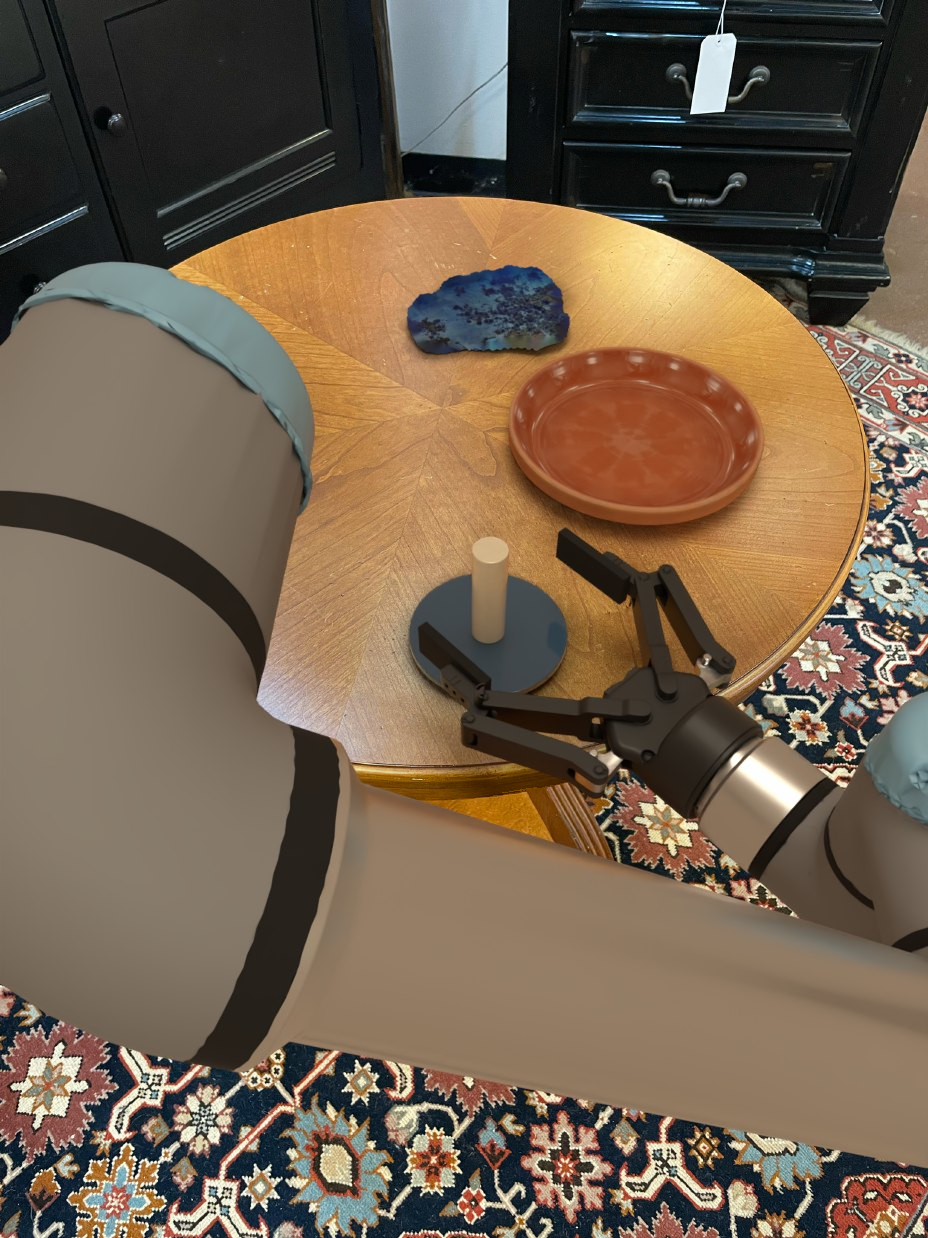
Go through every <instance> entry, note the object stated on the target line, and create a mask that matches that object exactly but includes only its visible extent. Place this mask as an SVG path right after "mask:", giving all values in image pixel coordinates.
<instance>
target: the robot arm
mask: <svg viewBox="0 0 928 1238" xmlns="http://www.w3.org/2000/svg"><path fill="white" fill-rule="evenodd" d="M225 296H226V295H224V294H223V293H220V292H219V291H217V290H216V289H214V288H212V287H210V286H208V285H202V284H201V285H199V284H196V283H193V282H191V281H188V280H185V279H182V278H179V277H177V276H176V274H174V272H173V271H171V270H169V269H165V268H162V267H158V266H153V265H148V264H143V263H137V262H127V261H125V262H123V261H107V262H96V263H89V264H85V265H81V266H78V267H75V268H72V269H69V270H67V271H65V272H63V273H61V274H59V275H57V276H56V277H54V278H52V279H51V280H50V281H49V282H48V283H46V284H45V285H44V286H43V287H42V288H41V289H40V290H39V291H38V292H37V293H35V294H32V295H31V296H29V297H28V298H27V299H26V300H25V302H24V303H23V304H20V306H19V307H18V311H17V313H16V312H15V314H14V316H13V319H12V322H11V329H10V334H9V336H8V337H7V338H6V340H4V342H3V343H2V344H1V345H0V985H1V986H2V987H5V988H6V989H7V990H9V991H11V992H12V993H14V994H15V995H17V996H18V997H20V998H21V999H23V1000H24V1001H26V1002H28V1004H31V1005H32V1006H34V1007H35V1008H37V1009H38V1010H40V1011H42V1012H43V1013H45V1014H46V1015H47V1016H49V1017H51V1018H53V1019H56V1020H58V1021H60V1022H62V1023H65V1024H67V1025H69V1026H71V1027H73V1028H75V1029H78V1030H80V1031H83V1032H84V1033H86V1034H89V1035H91V1036H93V1037H96V1038H97V1039H100V1040H103V1041H104V1042H108V1043H110V1044H114V1045H116V1046H119V1047H123V1048H125V1049H127V1050H128V1049H129V1050H132V1051H134V1052H138V1053H140V1054H145V1055H149V1056H153V1057H158V1058H163V1059H167V1060H171V1061H177V1062H180V1063H186V1064H191V1065H197V1066H200V1067H201V1066H202V1067H207V1068H212V1069H218V1070H223V1071H228V1072H233V1073H238V1074H239V1073H246V1072H248V1071H249V1072H250V1070H252V1069H254V1068H255V1067H257V1066H258V1065H260V1064H261V1063H262V1062H264V1061H265V1060H266V1059H268V1058H269V1057H270V1056H272V1055H273V1054H275V1053H276V1052H277V1051H279V1050H280V1049H281V1048H283V1047H284V1046H285V1045H287V1044H288V1043H294V1044H295V1043H296V1044H299V1045H305V1046H310V1047H316V1048H320V1049H325V1050H330V1051H335V1052H340V1053H345V1054H351V1055H354V1056H355V1055H356V1056H360V1057H364V1058H365V1057H366V1058H370V1059H376V1060H380V1061H386V1062H391V1063H396V1064H401V1065H406V1066H410V1067H416V1068H420V1069H421V1068H422V1069H426V1070H431V1071H436V1072H440V1073H446V1074H451V1075H456V1076H461V1077H466V1078H471V1079H476V1080H481V1081H485V1082H486V1081H487V1082H492V1083H496V1084H502V1085H506V1086H511V1087H516V1088H522V1089H527V1090H531V1091H536V1092H542V1093H547V1094H551V1095H556V1096H562V1097H567V1098H572V1099H576V1100H582V1101H587V1102H592V1103H596V1104H602V1105H605V1106H606V1105H607V1106H611V1107H612V1106H613V1107H617V1108H623V1109H626V1110H632V1111H638V1112H642V1113H647V1114H652V1115H656V1116H657V1115H658V1116H663V1117H668V1118H672V1119H677V1120H682V1121H687V1122H692V1123H698V1124H701V1125H708V1126H713V1127H717V1128H721V1129H722V1128H723V1129H728V1130H733V1131H739V1132H743V1133H748V1134H753V1135H758V1136H763V1137H769V1138H773V1139H777V1140H783V1141H789V1142H794V1143H797V1144H804V1145H808V1146H814V1147H818V1148H823V1149H828V1150H833V1151H838V1152H839V1151H840V1152H843V1153H849V1154H853V1155H858V1156H863V1157H867V1158H868V1157H869V1158H872V1159H873V1158H874V1159H879V1160H882V1161H883V1160H884V1161H889V1162H894V1163H898V1164H904V1165H908V1166H915V1167H919V1168H924V1169H928V690H927V691H924V692H921V693H919V694H916V695H914V696H912V697H911V698H909V699H907V701H905V702H903V704H902V705H901V706H900V707H898V708H897V710H896V711H895V713H894V714H893V715H892V717H891V718H889V720H888V722H887V723H886V724H885V725H884V727H883V728H882V730H881V731H880V732H879V733H878V734H876V735H874V736H872V739H871V740H870V741H868V743H867V745H866V748H865V750H864V752H863V756H862V758H861V760H860V762H859V763H858V765H857V767H856V768H855V771H854V772H853V774H852V776H851V778H850V780H849V781H848V783H847V785H846V787H845V789H844V788H843V787H842V786H841V785H840V784H838V783H837V782H836V781H835V780H833V779H832V778H831V777H830V776H829V775H827V774H826V773H825V772H823V771H822V770H821V769H820V768H818V767H817V766H816V765H815V764H813V763H812V762H811V761H809V760H808V759H806V757H804V756H803V755H802V754H800V753H799V752H797V750H795V749H794V748H793V747H791V746H790V744H788V743H786V742H785V741H784V740H782V739H781V738H780V737H779V736H771V737H765V732H764V730H763V726H762V725H761V724H760V722H758V721H757V720H755V719H754V718H752V716H750V715H749V714H747V713H746V712H745V711H743V709H741V708H740V707H739V706H737V705H736V704H734V703H733V702H732V701H730V700H729V699H728V698H726V697H725V696H723V695H715V694H713V692H712V691H713V690H715V689H717V690H725V689H727V688H728V687H729V685H730V682H731V679H732V676H733V674H734V671H735V668H736V665H737V659H736V657H735V656H734V655H732V654H731V653H730V652H729V651H728V650H727V649H726V648H724V646H723V645H721V643H719V642H718V641H717V640H716V639H715V637H714V635H713V634H712V632H711V630H710V628H709V626H708V625H707V623H706V621H705V619H704V618H703V615H702V614H701V613H700V610H699V609H698V607H697V605H696V604H695V601H694V600H693V598H692V597H691V594H690V593H689V590H687V588H686V586H685V584H684V582H683V581H682V579H681V577H680V575H679V574H678V572H677V570H676V569H675V567H674V566H673V565H672V564H668V563H662V564H661V565H660V566H658V569H657V570H654V571H652V572H646V571H639V570H637V569H636V568H635V567H633V566H632V565H631V564H629V563H628V562H626V561H625V560H624V559H622V558H621V557H619V555H617V554H615V553H614V552H611V551H608V550H606V551H605V552H603V553H602V552H601V551H599V550H597V548H595V547H594V546H592V545H591V544H590V543H588V542H587V541H585V540H584V539H582V537H580V536H578V535H577V534H576V533H575V532H573V531H572V530H570V529H569V528H568V527H566V526H565V527H563V528H561V529H560V530H558V532H557V542H556V551H555V558H557V559H558V560H559V561H560V562H562V564H564V565H566V566H567V567H568V568H569V569H571V570H572V571H573V572H574V573H576V574H577V575H579V576H580V577H582V579H584V580H585V581H587V582H588V583H589V584H590V585H592V586H593V587H595V588H596V589H597V590H599V592H601V593H602V594H604V595H605V596H607V597H608V598H609V599H610V600H612V601H613V602H614V603H616V604H617V605H618V606H621V605H622V604H623V603H624V602H625V601H627V598H628V596H629V597H630V598H629V603H628V607H631V611H632V615H633V621H634V626H635V632H636V637H637V643H638V648H639V651H640V652H639V653H640V659H641V663H642V666H641V667H638V666H637V665H635V666H633V667H632V668H631V669H630V670H629V671H628V672H627V673H626V674H625V676H624V677H623V679H622V680H620V681H618V682H615V683H613V684H611V685H609V687H607V688H606V689H605V690H604V691H603V694H602V697H596V696H585V697H583V698H581V699H572V698H564V697H554V696H546V695H545V696H544V695H537V694H528V693H525V694H519V693H510V692H501V691H492V690H491V678H490V677H489V676H488V675H487V674H486V673H485V672H483V671H482V670H481V669H480V668H479V667H478V666H477V665H476V664H474V663H473V662H472V661H471V660H470V659H469V658H468V657H466V656H465V655H464V654H463V653H462V652H461V651H460V650H458V649H457V648H456V647H455V646H454V645H453V644H452V643H450V642H449V641H448V640H447V639H446V638H445V637H444V636H443V635H441V634H440V633H439V632H438V631H437V630H436V629H435V628H433V627H432V626H431V625H430V624H429V623H428V622H427V621H426V622H425V623H423V624H422V625H420V626H419V627H418V635H419V651H420V652H421V653H422V654H423V655H424V656H425V657H426V658H427V659H428V660H429V661H431V662H432V663H433V664H434V665H435V666H436V667H437V668H438V669H439V670H440V676H441V684H442V687H443V688H442V689H443V690H444V691H445V692H447V694H449V695H450V696H451V697H452V698H453V699H454V700H455V701H456V702H457V703H458V704H459V705H460V706H462V708H464V710H466V712H463V714H461V716H460V718H459V719H460V720H459V723H460V744H462V746H463V747H465V748H468V749H470V750H473V751H476V752H479V753H482V754H485V755H488V756H491V757H494V758H496V759H500V760H503V761H506V762H509V763H511V764H515V765H518V766H521V767H524V768H527V769H529V770H533V771H536V772H538V773H542V774H544V775H547V776H551V777H554V778H557V779H560V780H563V781H565V782H568V783H569V784H571V785H572V786H574V787H575V788H577V789H578V790H579V791H581V792H582V793H583V794H584V795H585V796H587V797H588V798H591V799H592V800H599V799H601V798H602V797H603V796H604V795H605V793H606V787H607V784H608V783H609V782H610V780H611V779H612V778H613V777H614V776H616V774H617V773H618V772H619V771H620V769H623V770H627V771H629V772H632V773H634V774H635V775H636V776H637V777H639V779H640V780H641V782H642V783H644V785H645V786H646V787H647V788H648V789H649V790H650V791H651V792H652V793H653V794H655V795H656V796H657V797H658V798H659V799H660V800H661V801H663V802H664V803H665V804H666V805H667V806H668V807H669V808H670V809H672V810H673V811H674V812H675V813H677V814H678V815H679V816H680V817H681V818H682V819H684V820H695V819H697V830H698V832H699V833H700V834H702V835H703V837H705V838H706V839H707V840H708V841H710V842H711V843H712V844H713V845H714V846H716V847H717V848H718V849H719V850H721V851H722V852H723V853H724V854H725V855H726V856H727V857H729V858H730V859H731V860H732V862H734V863H735V864H736V865H738V866H739V867H740V868H741V870H743V871H745V873H747V874H748V875H749V876H750V877H751V878H753V879H754V880H755V881H756V882H758V883H759V884H761V885H763V887H765V888H766V889H767V890H768V891H769V892H770V893H771V894H773V896H775V897H776V898H777V899H778V900H779V901H780V902H781V903H782V904H784V905H785V906H786V907H787V908H788V909H789V910H790V911H792V912H793V913H794V915H796V916H797V917H796V916H793V915H790V914H787V913H783V912H780V911H777V910H773V909H771V908H767V907H764V906H760V905H758V904H755V903H751V902H748V901H744V900H742V899H739V898H735V897H731V896H729V895H726V894H722V893H719V892H715V891H713V890H710V889H706V888H703V887H700V886H697V885H693V884H690V883H687V882H683V881H681V880H677V879H674V878H670V877H668V876H664V875H662V874H661V875H660V874H658V873H654V872H652V871H648V870H644V869H642V868H638V867H636V866H635V867H634V866H631V865H628V864H625V863H623V862H619V861H615V860H612V859H609V858H606V857H602V856H599V855H596V854H593V853H590V852H587V851H583V850H581V849H577V848H574V847H571V846H567V845H565V844H561V843H558V842H555V841H551V840H548V839H544V838H542V837H538V836H535V835H532V834H529V833H525V832H522V831H519V830H516V829H512V828H509V827H506V826H503V825H499V824H497V823H493V822H490V821H488V820H483V819H480V818H476V817H473V816H472V815H471V816H470V815H467V814H464V813H461V812H458V811H455V810H451V809H448V808H446V807H445V808H444V807H441V806H438V805H435V804H432V803H428V802H426V801H422V800H419V799H415V798H413V797H409V796H406V795H403V794H400V793H396V792H393V791H391V790H386V789H384V788H380V787H378V786H374V785H370V784H368V783H364V782H362V781H361V779H360V776H359V775H358V773H357V771H356V769H355V767H354V764H353V763H352V761H351V759H350V756H349V754H348V753H347V750H346V749H345V746H344V745H343V743H342V742H341V741H340V740H338V739H337V738H334V737H332V736H328V735H325V734H322V733H319V732H316V731H312V730H309V729H306V728H303V727H300V726H296V725H293V724H290V723H287V722H285V721H283V720H281V719H279V718H276V717H274V716H273V715H272V714H271V713H270V712H268V711H267V710H266V708H264V707H263V706H262V705H261V704H260V703H259V702H258V695H259V691H260V686H261V682H262V678H263V674H264V672H265V668H266V664H267V659H268V654H269V651H270V645H271V641H272V635H273V631H274V627H275V622H276V616H277V613H278V608H279V602H280V599H281V594H282V589H283V586H284V585H283V584H284V580H285V575H286V570H287V565H288V561H289V557H290V556H289V555H290V551H291V547H292V543H293V538H294V534H295V529H296V526H297V521H298V518H299V517H300V516H301V515H302V514H303V513H304V512H305V510H306V509H307V508H308V505H309V502H310V498H311V494H312V491H313V482H314V481H313V472H312V470H311V465H312V458H313V453H314V452H313V451H314V446H315V437H316V436H315V434H316V433H315V432H316V427H315V426H316V425H315V424H316V423H315V417H314V409H313V404H312V402H311V401H312V400H311V398H310V395H309V393H308V389H307V387H306V385H305V382H304V380H303V378H302V376H301V373H300V372H299V370H298V368H297V367H296V365H295V363H294V362H293V360H292V358H291V357H290V355H288V353H287V351H286V350H285V349H284V347H282V345H281V343H280V342H279V341H278V340H277V339H276V337H274V336H273V334H272V333H271V332H270V331H269V330H268V329H267V328H266V327H265V326H264V325H263V324H262V323H261V322H260V321H258V319H256V318H255V316H253V314H250V313H249V312H248V311H247V310H246V309H245V308H243V307H242V306H240V305H239V304H237V302H235V301H233V299H231V298H230V297H229V298H230V299H231V300H230V299H229V298H227V297H228V296H226V297H225ZM658 604H659V605H658ZM659 606H660V609H661V610H662V612H663V613H664V615H665V617H666V619H667V621H668V623H669V625H670V627H671V629H672V630H673V632H674V634H675V636H676V638H677V639H678V641H679V643H680V646H681V647H682V649H683V651H684V652H685V654H686V656H687V658H688V660H689V662H690V663H691V665H692V666H693V668H694V669H693V672H694V673H689V672H684V671H679V670H678V671H677V670H674V665H673V661H672V656H671V652H670V647H669V645H668V644H667V643H666V639H665V634H664V630H663V625H662V619H661V615H660V610H659ZM594 719H598V721H599V723H597V722H593V720H594ZM545 734H551V735H552V734H553V735H560V736H568V737H575V738H576V739H577V740H579V741H580V742H584V743H591V744H593V743H594V744H602V745H604V746H605V750H606V753H601V752H599V751H598V750H597V749H595V748H592V749H589V750H588V751H586V750H585V749H583V748H581V747H580V746H577V745H575V744H573V743H570V742H567V741H564V740H561V739H557V738H555V737H551V736H549V735H545ZM764 737H765V738H764Z"/></svg>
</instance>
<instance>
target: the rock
mask: <svg viewBox="0 0 928 1238" xmlns="http://www.w3.org/2000/svg"><path fill="white" fill-rule="evenodd" d="M563 297H564V295H563V293H562V289H561V288H560V287H559V286H558V285H557V284H556V283H555V282H554V279H553V278H552V277H550V276H549V275H548V274H547V273H545V272H544V271H543V270H542V269H541V268H539V267H537V266H532V265H531V266H526V267H524V266H522V267H521V266H519V265H512V264H506V265H504V266H503V267H498V268H496V269H492V270H491V269H482V270H481V271H473V272H470V273H469V274H466V275H465V274H464V275H462V274H457V275H453V276H449V277H448V278H447V279H446V280H443V282H442V283H441V284H440V286H439V289H437V290H436V291H433V292H432V293H431V292H426V293H420V294H418V296H417V297H416V298H415V299H414V300H413V301H412V303H411V304H410V305H409V306H408V307H407V310H406V313H407V316H406V322H407V328H408V330H409V332H410V333H411V336H412V339H414V341H415V342H416V346H418V347H419V348H420V349H423V350H424V351H425V352H426V353H434V355H440V354H442V355H445V354H449V353H455V352H456V353H457V352H458V353H459V352H461V351H463V350H468V351H471V350H473V351H475V352H477V351H483V352H484V351H487V350H490V351H493V352H494V351H496V350H499V351H502V350H503V349H504V348H505V349H506V350H509V349H513V350H514V349H518V348H519V349H526V350H528V351H530V350H531V349H533V350H534V351H536V352H537V351H539V350H541V349H543V348H545V347H547V346H552V345H555V344H560V343H563V342H564V340H565V339H567V338H568V333H569V329H570V324H571V322H570V321H571V317H570V315H569V313H567V312H565V311H564V303H565V302H564V300H563Z"/></svg>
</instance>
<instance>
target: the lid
mask: <svg viewBox="0 0 928 1238" xmlns="http://www.w3.org/2000/svg"><path fill="white" fill-rule="evenodd" d="M509 561H510V548H509V545H508V544H507V542H506V541H505V540H503V539H501V538H500V537H496V536H484V537H481V538H479V539H478V540H476V541H475V542H474V543H473V544H472V547H471V573H469V574H465V575H461V576H457V577H454V578H451V579H449V580H447V581H444V582H443V583H441V584H439V585H438V586H436V587H435V588H433V589H432V590H431V591H429V592H428V593H427V594H426V595H425V596H424V597H423V598H422V599H421V601H420V602H419V603H418V604H417V606H416V608H415V609H414V611H413V613H412V615H411V618H410V622H409V626H408V643H409V649H410V652H411V656H412V658H413V660H414V662H415V664H416V666H417V667H418V668H419V669H420V671H421V672H422V673H423V674H424V675H425V676H426V678H427V679H429V680H430V681H431V682H433V683H434V684H435V685H437V686H438V687H440V688H441V689H443V687H442V684H441V676H440V670H439V669H438V668H437V667H436V666H435V665H434V664H433V663H432V662H431V661H429V660H428V659H427V658H426V657H425V656H424V655H423V654H422V653H421V652H420V651H419V635H418V627H419V626H420V625H422V624H423V623H425V622H426V621H427V622H428V623H429V624H430V625H431V626H432V627H433V628H435V629H436V630H437V631H438V632H439V633H440V634H441V635H443V636H444V637H445V638H446V639H447V640H448V641H449V642H450V643H452V644H453V645H454V646H455V647H456V648H457V649H458V650H460V651H461V652H462V653H463V654H464V655H465V656H466V657H468V658H469V659H470V660H471V661H472V662H473V663H474V664H476V665H477V666H478V667H479V668H480V669H481V670H482V671H483V672H485V673H486V674H487V675H488V676H489V677H490V678H491V690H492V691H501V692H510V693H519V694H528V693H529V692H531V691H533V690H535V689H537V688H538V687H540V686H542V685H543V684H544V683H546V682H547V681H548V680H549V679H550V678H551V677H552V676H553V675H554V674H555V673H556V671H557V670H558V669H559V667H560V665H561V663H562V662H563V659H564V658H565V655H566V650H567V647H568V637H569V636H568V626H567V622H566V619H565V616H564V614H563V612H562V610H561V609H560V607H559V606H558V604H557V602H556V601H555V600H554V599H553V598H552V597H551V596H550V595H549V594H548V593H546V592H545V591H544V590H543V589H541V588H540V587H538V586H537V585H535V584H533V583H531V582H529V581H528V580H526V579H523V578H520V577H517V576H515V575H510V574H509Z"/></svg>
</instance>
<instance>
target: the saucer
mask: <svg viewBox="0 0 928 1238" xmlns="http://www.w3.org/2000/svg"><path fill="white" fill-rule="evenodd" d="M507 426H508V433H507V434H508V442H509V446H510V450H511V453H512V455H513V456H512V457H513V458H514V459H515V462H516V463H517V465H518V466H519V469H520V470H521V472H522V473H523V474H524V475H525V476H526V477H527V478H528V479H529V480H530V482H532V484H534V486H536V487H537V488H538V489H539V490H541V491H542V492H543V493H544V494H545V495H547V496H548V497H550V498H552V499H553V500H555V501H556V502H558V503H560V504H562V505H564V506H566V507H568V508H570V509H572V510H574V511H577V512H579V513H582V514H584V515H588V516H590V517H594V518H597V519H601V520H605V521H610V522H613V523H620V524H627V525H635V526H661V525H662V526H663V525H664V526H665V525H673V524H674V525H675V524H680V523H686V522H689V521H695V520H698V519H700V518H704V517H706V516H709V515H711V514H714V513H716V512H718V511H720V510H721V509H724V508H725V507H727V506H728V505H730V504H731V503H733V502H734V501H735V500H736V499H737V498H739V496H741V494H742V493H744V491H745V490H746V489H747V488H748V487H749V485H750V484H751V482H752V481H753V479H754V477H755V475H756V472H757V471H758V468H759V465H760V463H761V460H762V457H763V453H764V451H765V439H766V438H765V430H764V426H763V422H762V419H761V416H760V414H759V412H758V409H756V407H755V405H754V404H753V402H752V401H751V399H750V398H749V397H748V395H746V393H744V391H743V390H742V389H741V388H740V387H739V386H737V385H736V384H735V383H734V382H733V381H731V380H730V379H729V378H727V377H726V376H724V375H723V374H722V373H720V372H718V371H717V370H715V369H713V368H711V367H709V366H708V365H705V364H703V363H701V362H699V361H696V360H695V359H692V358H689V357H686V356H683V355H679V354H677V353H672V352H669V351H664V350H659V349H655V348H648V347H637V346H603V347H595V348H589V349H583V350H579V351H576V352H571V353H568V354H566V355H562V356H560V357H558V358H555V359H553V360H551V361H549V362H547V363H545V364H544V365H542V366H541V367H539V368H538V369H536V370H535V371H534V372H532V374H530V375H529V376H528V377H527V378H526V379H525V380H524V381H523V382H522V383H521V385H520V386H519V388H518V389H517V391H516V392H515V394H514V395H513V398H512V400H511V404H510V407H509V411H508V425H507Z"/></svg>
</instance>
